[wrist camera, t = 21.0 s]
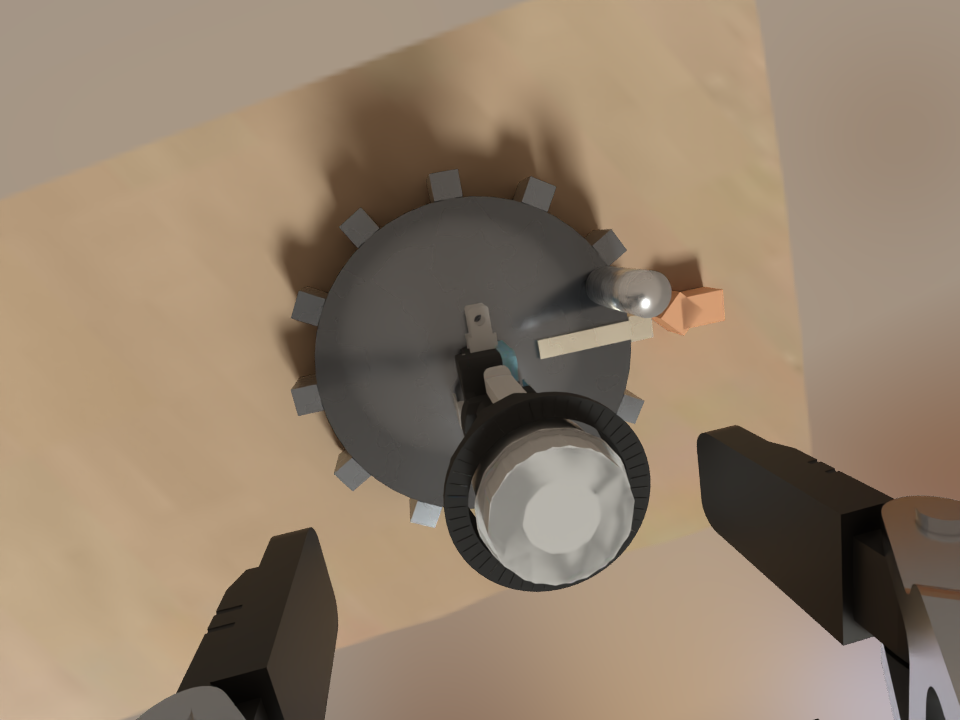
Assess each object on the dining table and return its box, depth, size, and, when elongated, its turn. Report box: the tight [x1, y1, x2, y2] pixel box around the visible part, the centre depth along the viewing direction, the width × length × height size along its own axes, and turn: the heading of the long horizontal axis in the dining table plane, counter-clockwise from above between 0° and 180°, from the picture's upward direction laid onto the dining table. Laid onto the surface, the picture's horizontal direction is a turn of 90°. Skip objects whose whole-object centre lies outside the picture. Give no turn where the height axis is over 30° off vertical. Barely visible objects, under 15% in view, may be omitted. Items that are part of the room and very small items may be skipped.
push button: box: [443, 303, 650, 592], centre depth 17 cm, size 7×5×10 cm
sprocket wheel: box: [291, 169, 672, 528], centre depth 21 cm, size 15×15×6 cm
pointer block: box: [652, 287, 725, 336], centre depth 24 cm, size 3×2×2 cm, turn 100°
